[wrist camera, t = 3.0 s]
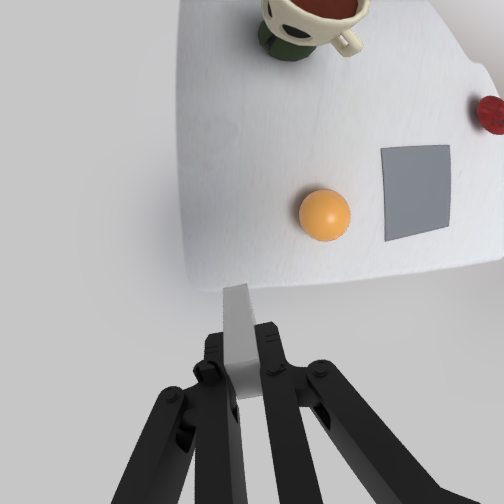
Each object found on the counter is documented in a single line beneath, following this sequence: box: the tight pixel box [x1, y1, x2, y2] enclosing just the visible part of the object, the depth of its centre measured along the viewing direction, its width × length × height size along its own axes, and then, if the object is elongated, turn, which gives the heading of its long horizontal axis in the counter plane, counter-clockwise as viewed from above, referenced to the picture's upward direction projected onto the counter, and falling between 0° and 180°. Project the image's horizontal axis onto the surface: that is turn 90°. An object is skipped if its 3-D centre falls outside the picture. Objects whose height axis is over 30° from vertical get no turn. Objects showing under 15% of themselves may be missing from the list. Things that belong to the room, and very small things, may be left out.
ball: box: [299, 189, 351, 242], centre depth 29 cm, size 6×6×6 cm
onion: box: [477, 96, 504, 135], centre depth 23 cm, size 6×6×8 cm
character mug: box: [258, 0, 371, 61], centre depth 17 cm, size 11×7×13 cm, turn 39°
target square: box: [381, 145, 451, 241], centre depth 31 cm, size 12×12×1 cm
